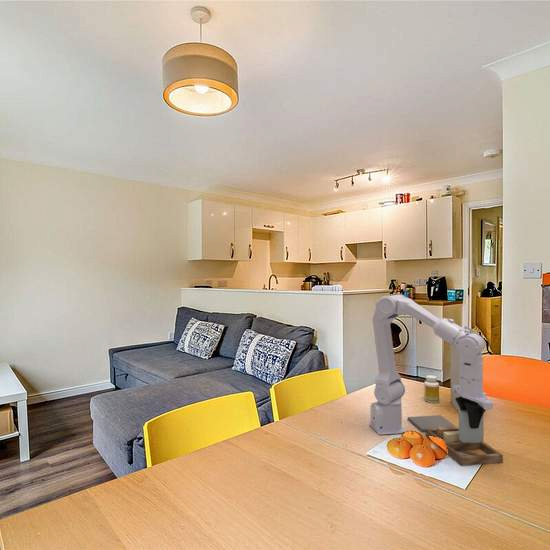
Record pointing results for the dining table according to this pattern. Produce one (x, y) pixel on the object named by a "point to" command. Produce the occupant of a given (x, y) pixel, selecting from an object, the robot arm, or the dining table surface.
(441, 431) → the stained offcut
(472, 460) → the walnut rack
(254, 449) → the dining table surface
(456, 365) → the brochure
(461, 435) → the grey rectangular block
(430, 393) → the supplement bottle
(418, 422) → the rubber mat
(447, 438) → the birch offcut
